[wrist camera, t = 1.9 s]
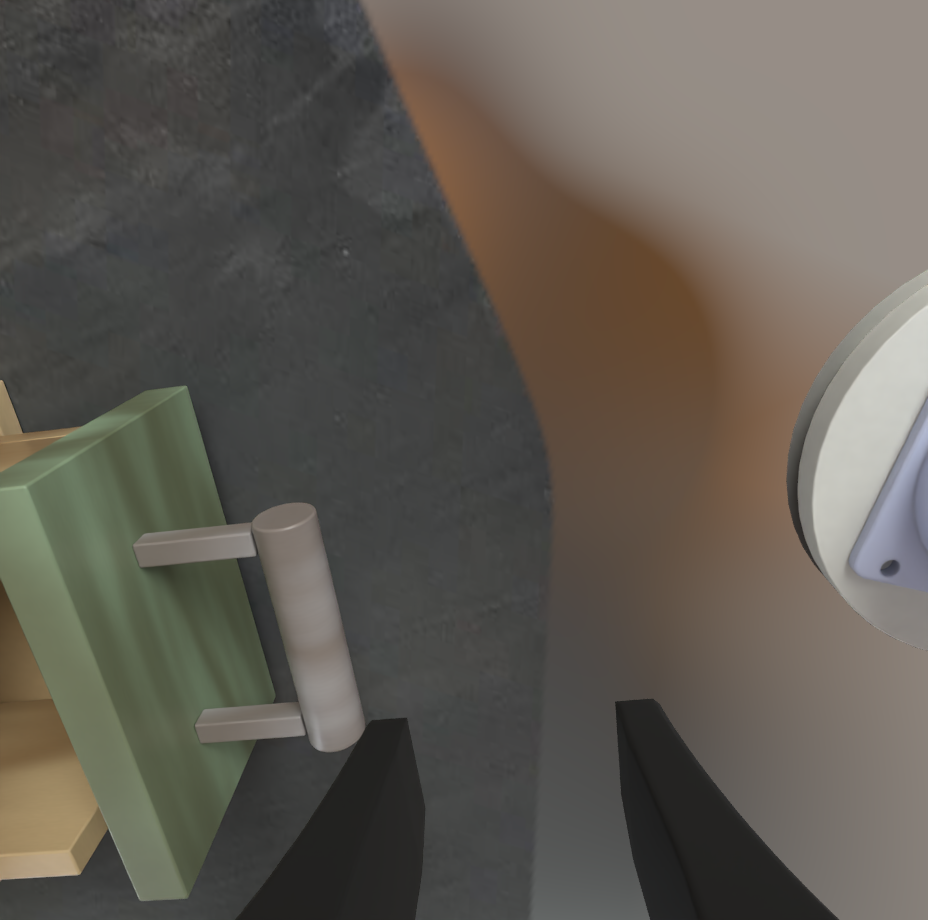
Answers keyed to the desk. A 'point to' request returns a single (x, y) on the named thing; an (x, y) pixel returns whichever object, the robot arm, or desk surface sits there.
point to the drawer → (146, 645)
